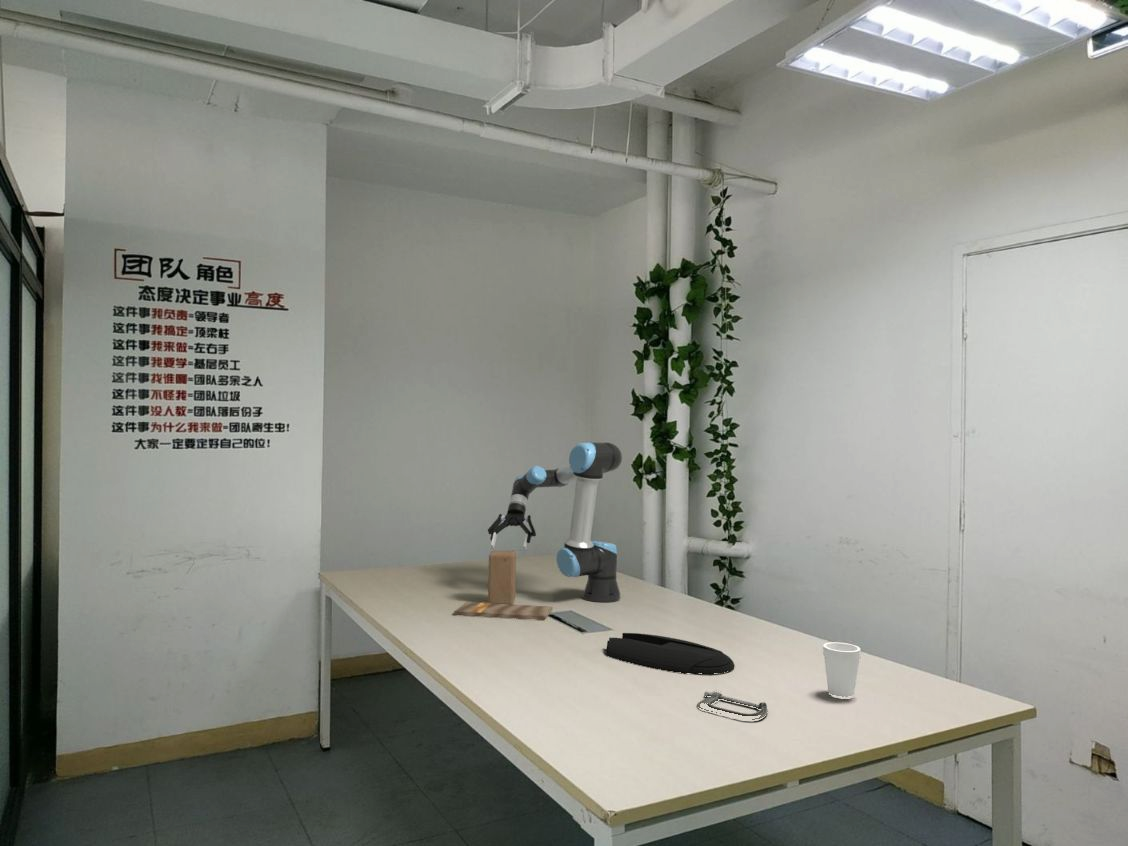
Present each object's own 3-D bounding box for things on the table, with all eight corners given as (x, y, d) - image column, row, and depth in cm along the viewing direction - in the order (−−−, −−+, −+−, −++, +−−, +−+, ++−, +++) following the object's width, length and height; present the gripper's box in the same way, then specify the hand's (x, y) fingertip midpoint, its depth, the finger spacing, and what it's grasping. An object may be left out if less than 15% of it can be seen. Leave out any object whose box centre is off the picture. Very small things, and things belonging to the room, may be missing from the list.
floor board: (552, 610, 309) (552, 606, 309) (544, 620, 294) (544, 615, 294) (466, 605, 315) (466, 601, 315) (454, 615, 299) (454, 610, 299)
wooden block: (513, 605, 317) (514, 554, 317) (487, 605, 317) (488, 553, 317) (515, 600, 327) (516, 550, 327) (490, 599, 327) (491, 549, 327)
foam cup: (830, 687, 224) (831, 640, 224) (864, 695, 218) (865, 646, 218) (817, 696, 216) (817, 647, 216) (851, 704, 210) (852, 654, 210)
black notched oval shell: (711, 683, 227) (711, 665, 227) (592, 656, 251) (593, 640, 251) (749, 663, 246) (749, 647, 246) (635, 640, 271) (636, 625, 271)
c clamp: (681, 707, 208) (681, 696, 208) (719, 692, 220) (719, 681, 220) (750, 729, 193) (750, 717, 193) (786, 711, 206) (787, 700, 206)
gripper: (546, 514, 348) (539, 554, 333) (490, 511, 352) (480, 551, 337) (544, 502, 343) (537, 543, 328) (487, 500, 347) (477, 540, 332)
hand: (508, 547), depth 333 cm, fingers open, 13 cm apart
